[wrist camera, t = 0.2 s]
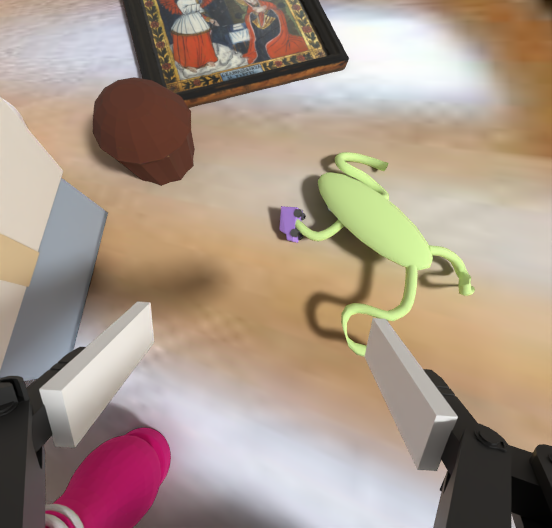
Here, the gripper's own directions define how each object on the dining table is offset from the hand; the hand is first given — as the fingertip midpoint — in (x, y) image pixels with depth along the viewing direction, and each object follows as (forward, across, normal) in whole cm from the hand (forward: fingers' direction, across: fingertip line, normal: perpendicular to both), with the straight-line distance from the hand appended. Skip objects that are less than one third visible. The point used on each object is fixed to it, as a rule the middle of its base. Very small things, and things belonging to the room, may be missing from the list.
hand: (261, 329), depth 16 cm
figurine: (+20, -13, 0) cm, 24 cm away
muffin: (+27, +16, -10) cm, 33 cm away
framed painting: (+44, +11, -34) cm, 56 cm away
